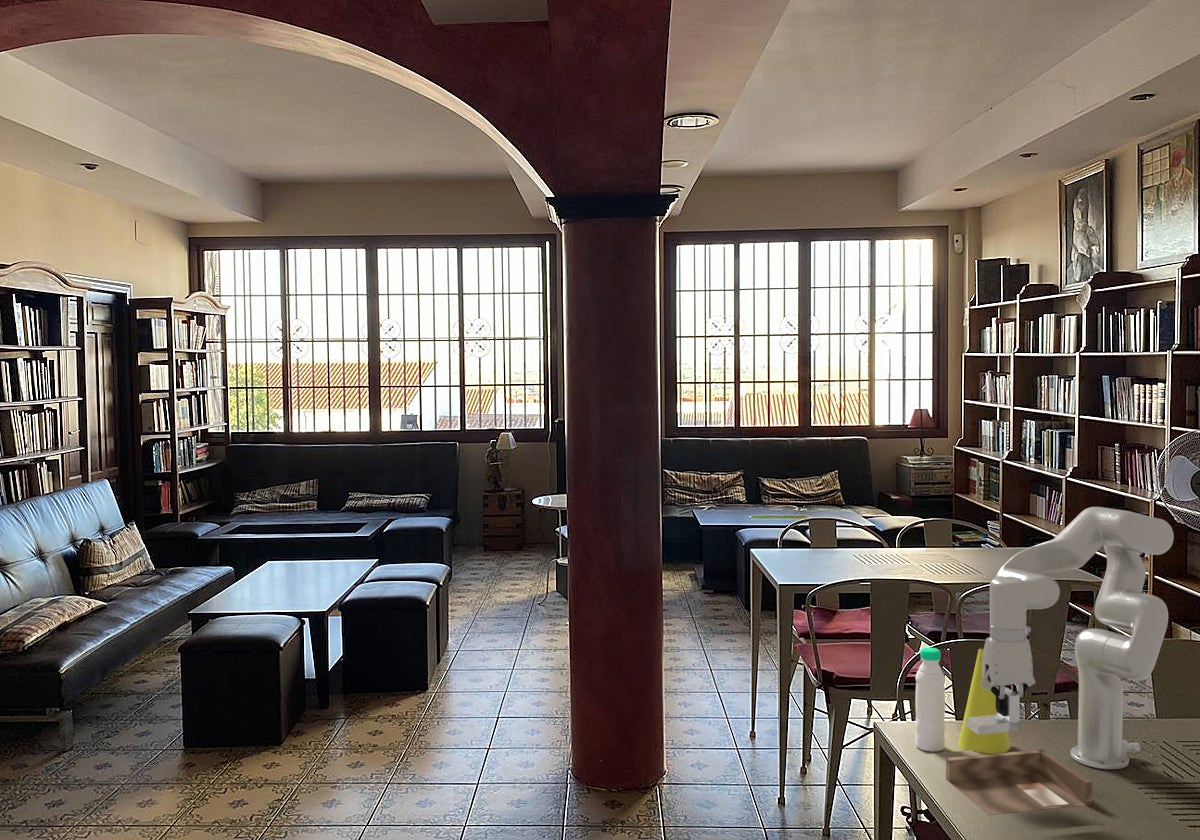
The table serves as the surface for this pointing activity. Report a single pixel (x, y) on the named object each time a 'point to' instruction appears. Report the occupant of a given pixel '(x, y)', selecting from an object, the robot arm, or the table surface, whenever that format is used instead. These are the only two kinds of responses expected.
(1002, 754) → the tray
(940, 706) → the water bottle
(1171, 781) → the table surface
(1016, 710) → the bracket
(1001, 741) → the cone
